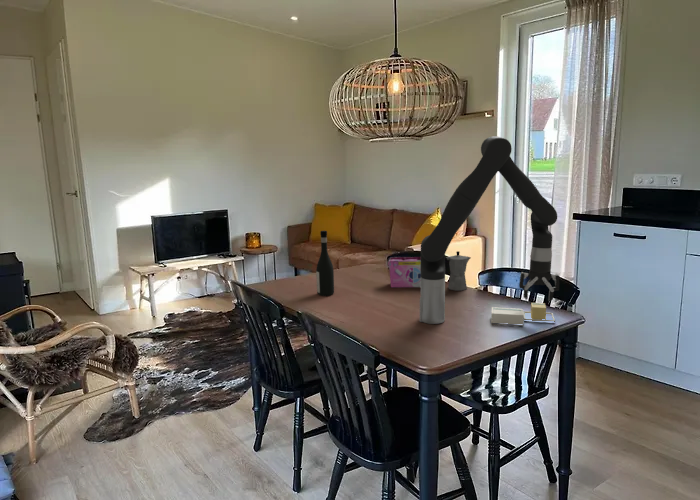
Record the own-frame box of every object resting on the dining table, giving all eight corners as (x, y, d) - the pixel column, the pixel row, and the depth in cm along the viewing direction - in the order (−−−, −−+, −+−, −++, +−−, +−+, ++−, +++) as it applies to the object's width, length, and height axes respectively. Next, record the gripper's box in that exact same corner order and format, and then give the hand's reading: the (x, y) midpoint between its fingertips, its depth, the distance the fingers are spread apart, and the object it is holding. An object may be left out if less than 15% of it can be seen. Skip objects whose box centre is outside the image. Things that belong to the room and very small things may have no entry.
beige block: (531, 319, 195) (532, 306, 194) (530, 314, 201) (531, 302, 200) (545, 320, 194) (546, 307, 193) (544, 315, 200) (544, 303, 199)
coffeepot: (465, 284, 250) (466, 248, 247) (474, 289, 241) (475, 252, 238) (436, 287, 247) (436, 250, 243) (444, 292, 238) (445, 254, 234)
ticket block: (491, 325, 191) (491, 314, 190) (491, 316, 201) (491, 306, 200) (523, 327, 188) (524, 316, 187) (522, 318, 198) (522, 308, 197)
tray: (524, 321, 194) (524, 318, 194) (522, 313, 204) (522, 311, 203) (555, 323, 191) (555, 320, 191) (552, 315, 201) (552, 312, 200)
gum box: (388, 287, 249) (387, 260, 246) (387, 283, 256) (387, 257, 254) (437, 287, 247) (437, 259, 245) (435, 283, 255) (435, 256, 253)
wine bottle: (314, 296, 236) (312, 232, 231) (320, 291, 244) (317, 229, 238) (331, 297, 234) (329, 232, 229) (336, 292, 242) (334, 229, 236)
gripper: (521, 259, 192) (519, 301, 195) (562, 261, 188) (559, 304, 191) (520, 255, 199) (518, 296, 202) (559, 257, 195) (556, 298, 198)
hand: (538, 299), depth 196 cm, fingers open, 8 cm apart
